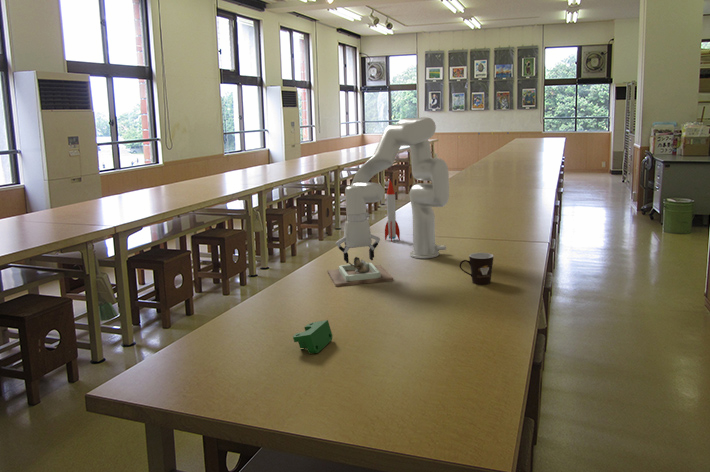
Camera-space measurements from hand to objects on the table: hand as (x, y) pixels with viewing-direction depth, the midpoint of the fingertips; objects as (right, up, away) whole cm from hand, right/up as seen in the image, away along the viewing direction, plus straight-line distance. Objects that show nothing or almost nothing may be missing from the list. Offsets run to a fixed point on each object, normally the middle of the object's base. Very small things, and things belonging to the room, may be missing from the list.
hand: (359, 261), depth 217 cm
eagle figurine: (0, -5, -2) cm, 5 cm away
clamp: (-13, -21, -64) cm, 69 cm away
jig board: (0, -6, +1) cm, 6 cm away
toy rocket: (+17, +7, +61) cm, 64 cm away
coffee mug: (+43, -7, -14) cm, 46 cm away
